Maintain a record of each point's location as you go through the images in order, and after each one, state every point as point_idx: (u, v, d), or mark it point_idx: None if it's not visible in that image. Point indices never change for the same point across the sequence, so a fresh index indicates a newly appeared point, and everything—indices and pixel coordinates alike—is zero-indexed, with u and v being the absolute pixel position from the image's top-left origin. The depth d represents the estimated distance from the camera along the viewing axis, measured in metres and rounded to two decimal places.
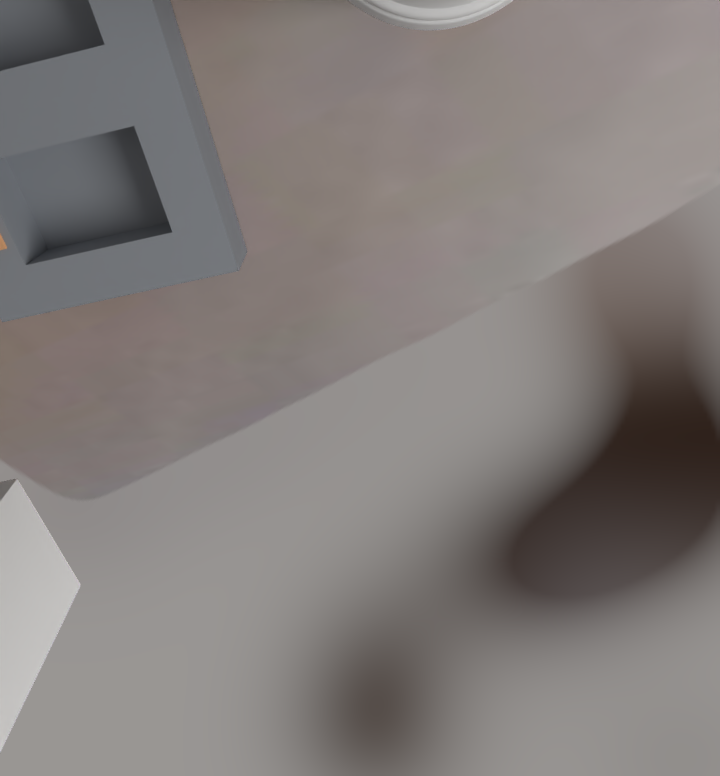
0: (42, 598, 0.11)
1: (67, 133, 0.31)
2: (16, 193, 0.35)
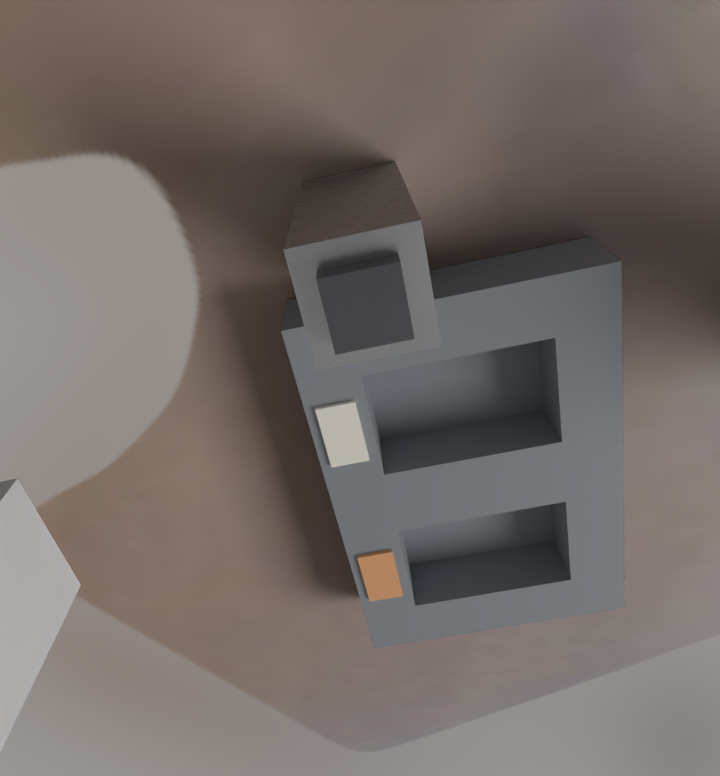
0: (42, 598, 0.11)
1: (497, 507, 0.31)
2: None
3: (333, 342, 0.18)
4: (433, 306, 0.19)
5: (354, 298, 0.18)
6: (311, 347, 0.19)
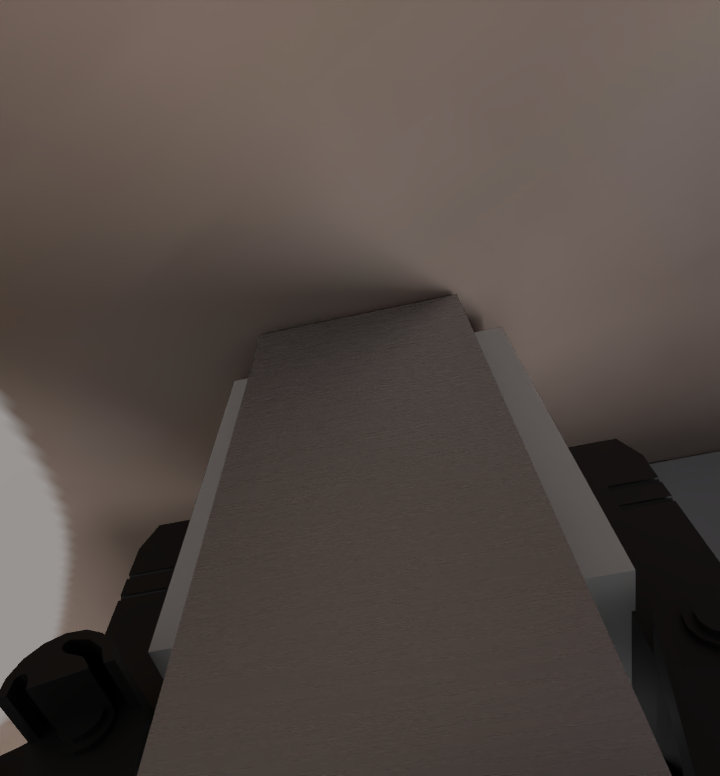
0: None
1: None
2: None
3: None
4: None
5: None
6: None
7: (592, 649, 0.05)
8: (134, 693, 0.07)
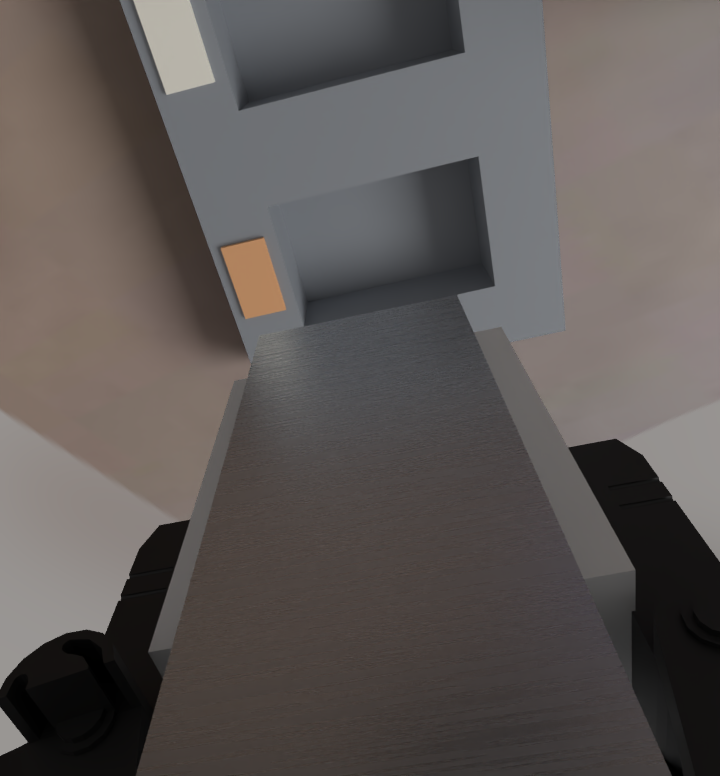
0: None
1: (391, 166, 0.24)
2: (286, 237, 0.28)
3: None
4: None
5: None
6: None
7: (594, 653, 0.05)
8: (134, 693, 0.07)
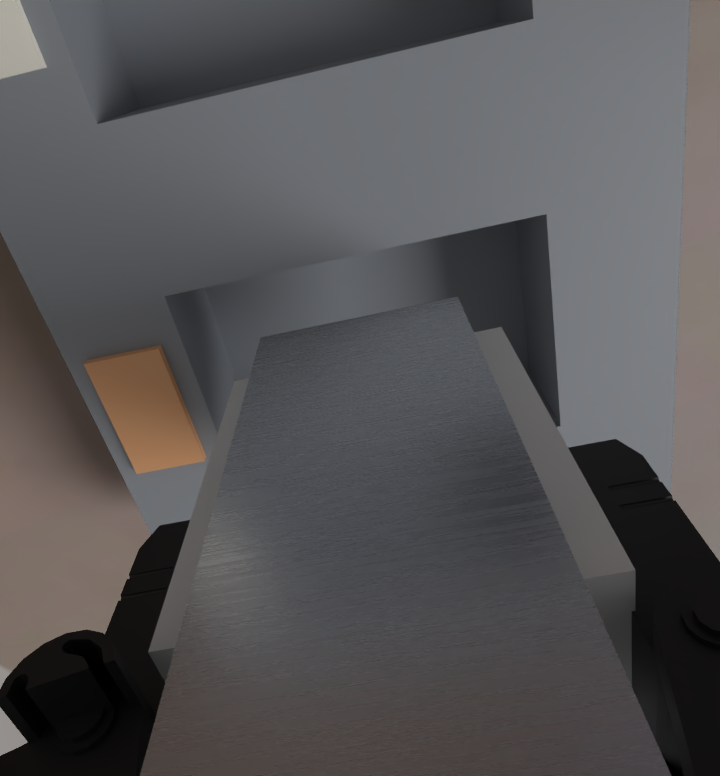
0: None
1: (387, 229, 0.13)
2: (213, 331, 0.17)
3: None
4: None
5: None
6: None
7: (595, 657, 0.05)
8: (134, 693, 0.07)
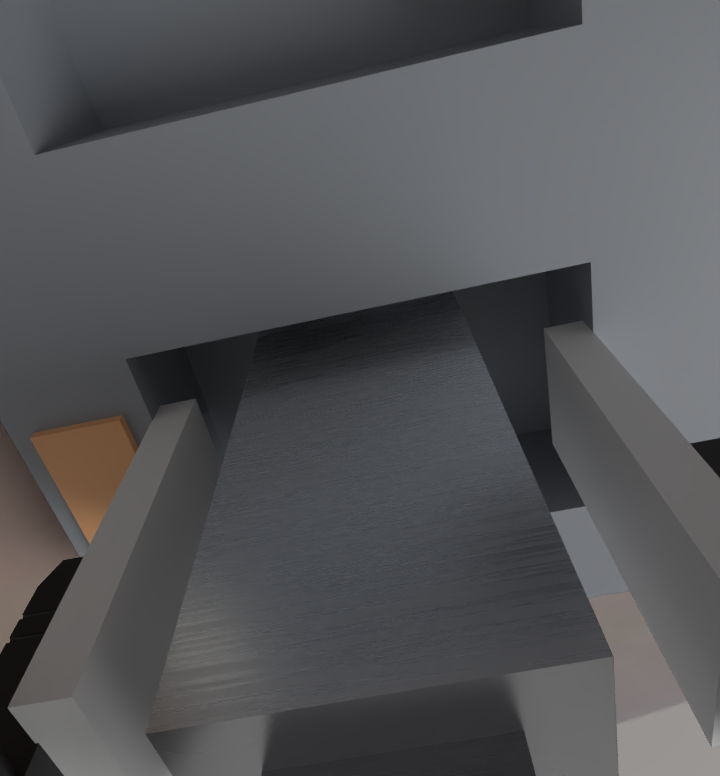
0: None
1: (395, 281, 0.11)
2: (190, 387, 0.15)
3: None
4: None
5: None
6: None
7: (531, 511, 0.07)
8: None
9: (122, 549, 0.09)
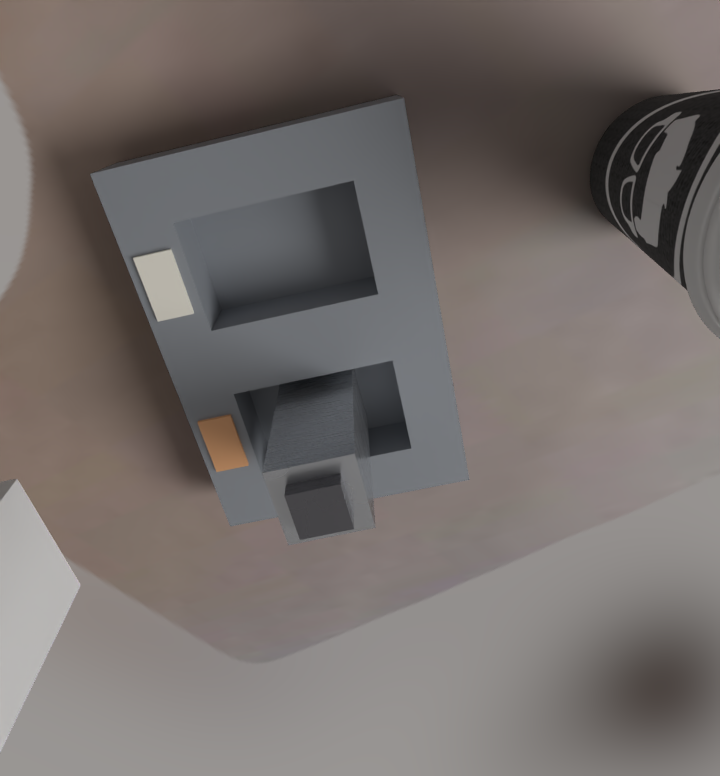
0: (42, 598, 0.11)
1: (327, 367, 0.32)
2: (251, 404, 0.36)
3: (298, 532, 0.27)
4: (367, 504, 0.27)
5: (311, 506, 0.26)
6: (284, 530, 0.28)
7: (350, 432, 0.28)
8: None
9: None
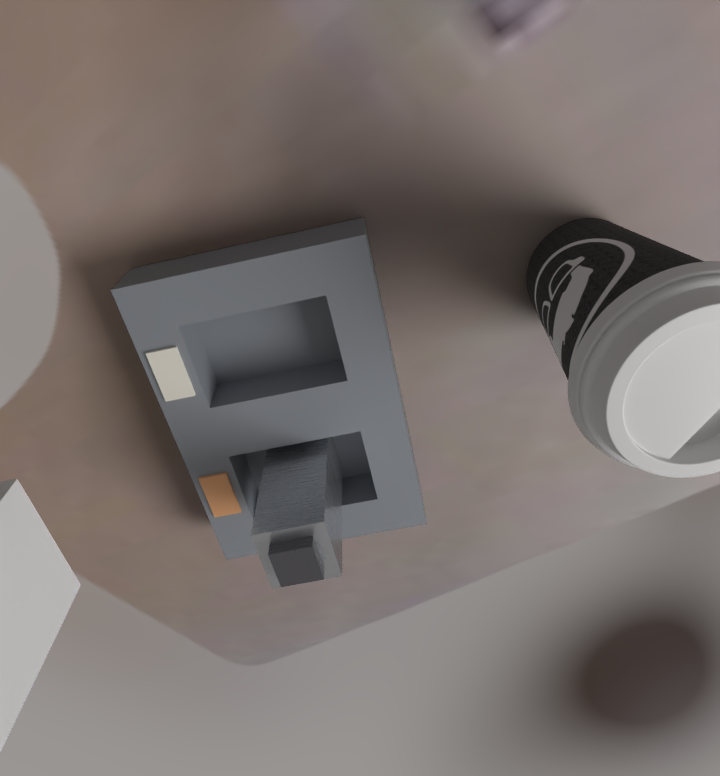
0: (42, 598, 0.11)
1: (306, 436, 0.39)
2: (243, 459, 0.42)
3: (279, 581, 0.34)
4: (335, 558, 0.34)
5: (289, 562, 0.33)
6: (268, 578, 0.35)
7: (321, 499, 0.34)
8: None
9: None
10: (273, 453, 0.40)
